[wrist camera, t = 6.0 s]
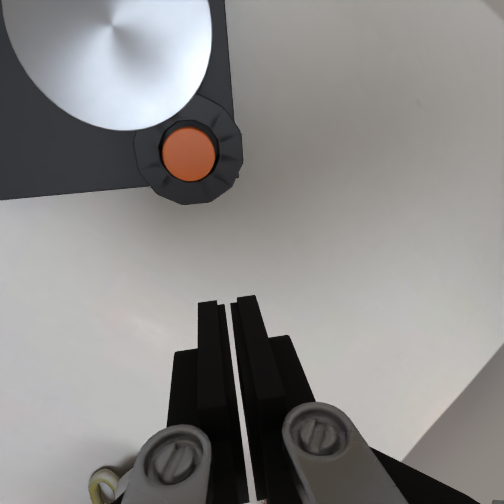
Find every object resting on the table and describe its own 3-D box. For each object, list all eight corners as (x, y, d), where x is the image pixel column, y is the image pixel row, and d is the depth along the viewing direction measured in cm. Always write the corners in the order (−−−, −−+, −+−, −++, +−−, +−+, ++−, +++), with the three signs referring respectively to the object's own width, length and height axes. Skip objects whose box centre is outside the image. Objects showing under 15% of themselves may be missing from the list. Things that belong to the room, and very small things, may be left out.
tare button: (210, 124, 17) (212, 125, 16) (216, 172, 18) (217, 179, 17) (161, 128, 17) (158, 129, 16) (169, 177, 18) (166, 183, 16)
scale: (218, -77, 17) (222, -121, 14) (239, 186, 22) (246, 199, 19) (-101, -71, 16) (-179, -119, 12) (-2, 209, 20) (-39, 227, 17)
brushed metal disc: (200, -101, 14) (200, -107, 14) (221, 123, 17) (222, 124, 17) (-27, -99, 13) (-33, -105, 13) (40, 137, 16) (37, 138, 16)
